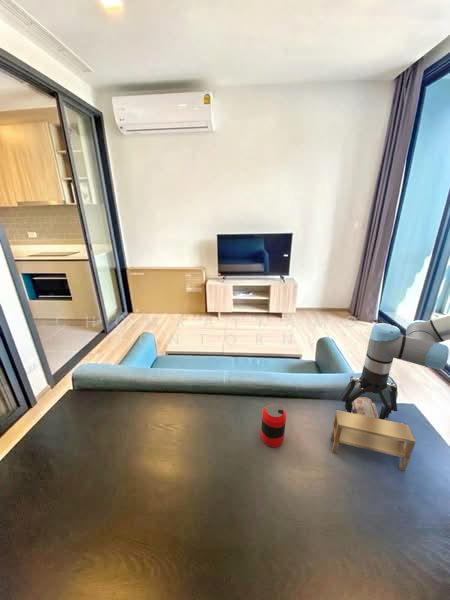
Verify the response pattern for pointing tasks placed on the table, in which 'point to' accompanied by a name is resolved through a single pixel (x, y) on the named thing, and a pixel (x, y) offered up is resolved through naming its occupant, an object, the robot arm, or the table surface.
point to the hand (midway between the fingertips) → (363, 419)
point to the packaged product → (364, 407)
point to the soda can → (273, 425)
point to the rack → (373, 435)
